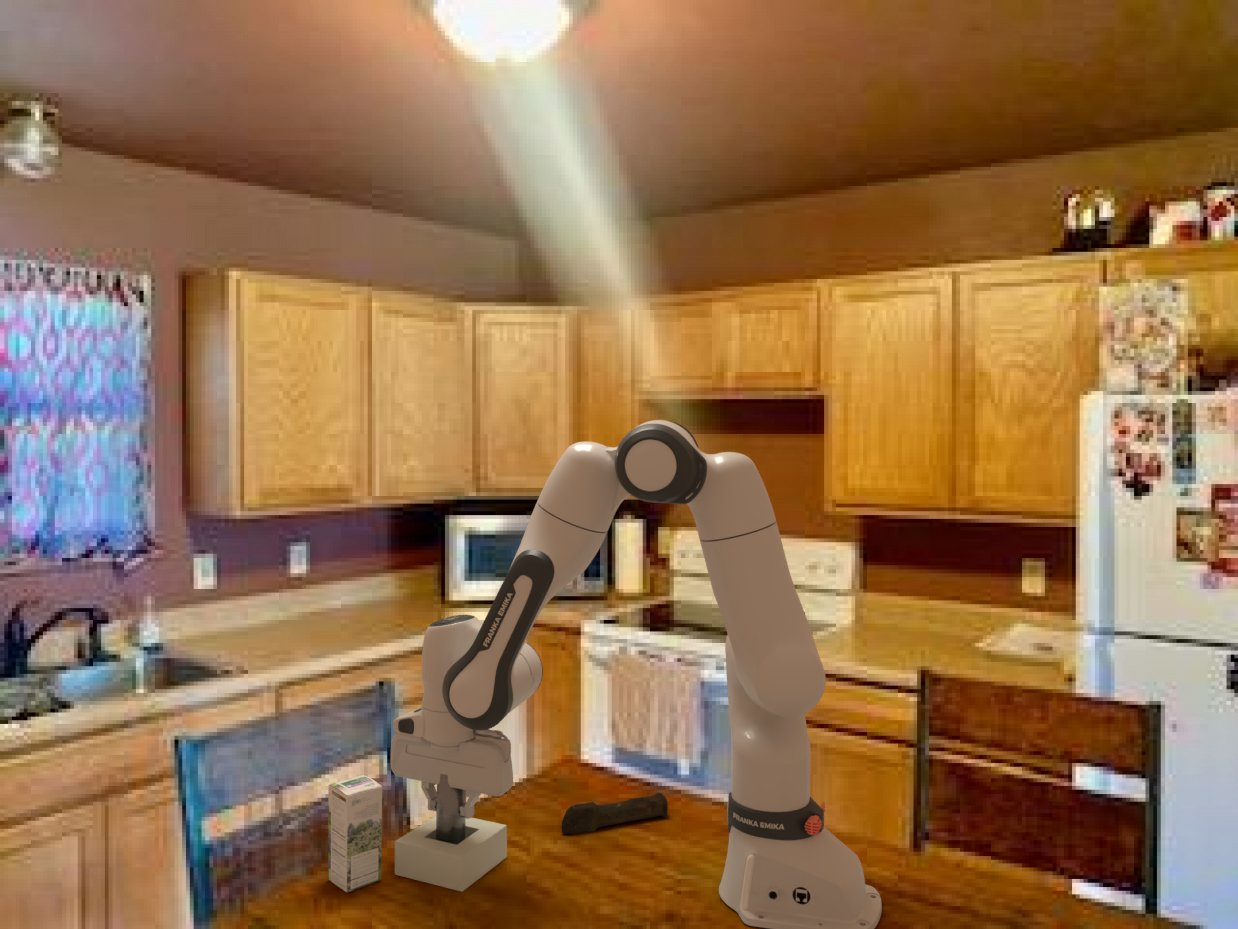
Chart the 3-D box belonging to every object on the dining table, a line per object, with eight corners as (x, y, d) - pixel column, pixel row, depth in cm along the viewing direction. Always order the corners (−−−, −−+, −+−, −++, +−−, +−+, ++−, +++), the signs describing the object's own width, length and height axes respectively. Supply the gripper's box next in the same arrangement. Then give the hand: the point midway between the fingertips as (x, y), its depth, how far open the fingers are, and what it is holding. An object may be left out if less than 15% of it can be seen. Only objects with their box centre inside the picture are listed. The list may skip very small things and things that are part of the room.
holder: (506, 857, 143) (506, 825, 143) (462, 891, 132) (462, 857, 132) (442, 842, 148) (442, 811, 148) (394, 874, 137) (394, 841, 137)
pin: (470, 847, 141) (472, 768, 141) (453, 858, 137) (456, 777, 137) (446, 841, 143) (448, 764, 143) (429, 852, 139) (431, 772, 139)
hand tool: (659, 811, 161) (659, 785, 161) (669, 820, 157) (669, 793, 157) (556, 829, 154) (556, 802, 154) (564, 839, 150) (564, 811, 150)
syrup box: (362, 867, 139) (362, 772, 139) (383, 881, 135) (382, 783, 135) (327, 880, 135) (326, 782, 135) (347, 895, 131) (346, 794, 131)
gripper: (521, 726, 138) (520, 818, 138) (410, 708, 146) (409, 794, 147) (498, 739, 132) (498, 834, 132) (384, 719, 141) (384, 808, 141)
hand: (450, 813), depth 140 cm, fingers closed on pin, 4 cm apart
